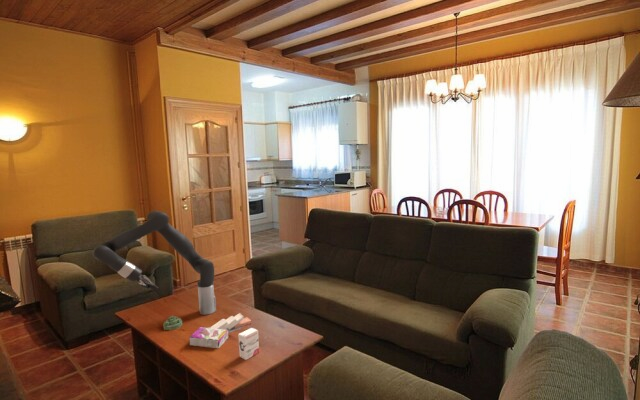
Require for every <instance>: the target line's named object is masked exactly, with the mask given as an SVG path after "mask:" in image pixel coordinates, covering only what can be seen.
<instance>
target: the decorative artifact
mask: <svg viewBox="0 0 640 400" xmlns="http://www.w3.org/2000/svg"><path fill="white" fill-rule="evenodd" d="M182 326H183V320H182V318H181V317H178V316H174V315H173V314H172V315H171V316H169V317H168V318H167V319H166V321H164V322H163V330H164V331H172V330H177V329H180V328H181V327H182Z"/></svg>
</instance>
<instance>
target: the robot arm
mask: <svg viewBox="0 0 640 400" xmlns="http://www.w3.org/2000/svg"><path fill="white" fill-rule="evenodd" d="M169 222H170V217H169V215H168V214H167V213H165V212H163V211H160V210H152V211H150V212H149V213H148V214H147V216H146V221H145V222H144V223H143V224H141V225H139V226H135V227H133V228H131V229H127V230H125V231H123V232H120V233H119V234H117V235H116V236H114V237H113V238H111V239H110V240H108V241H105V242H103V243H101V244H100V245H98V246H96V247H95V248H94V249H93V250H92V257H93V258H94V259H95V260H97V261H100V262H102V263H103V264H106V265H107V266H108V268H110V269H111V270H113V271H114V272H115V273H117V274H118V275H120V276H121V277H123V278H124V279H125V280H128V281H129V282H131V283H134V282H135V281H136V282H137V283H138V284H139V285H140V287H143V288H145V289H151V290H152V291H154V292H157V291H159V290H160V288H159V287H158V286H157V285H156V284H154V282H153V281H152V280H151V278H149V277H148V276H147V275H145V274H142V273H143V270H142V269H141V268H139V267H138V266H136V265H135V264H134V263H132V262H130V261H128V260H127V259H125V258H124V257H122V256H120V255H119V254H117V253H116V252H118V251H120V250H123V249H124V248H125V247H128V246H129V245H131V244H132V243H135V242H136V241H137V240H140V239H141V238H144V237H146V236H147V235H149V234H151V233H154V232H156V231H157V232H158V233H159V234H160V235H161V236H162V237H163V238H164V240H165V241H166V242H167V243H168V244H169V245H170V246H171V247H172V248H173V249H174V251H176V252H177V254H179V255H180V256H181V257H182V258H183V259H185V260H186V261H187V263H189V264H190V265H189V266H191V267H192V268H193V270H194V271H195V272H196V273H197V274H199V275H200V276H199V280H197V292H198V293H197V296H198V306H199V314H200V315H203V316H204V315H206V316H207V315H211V314H213V313H215V312H217V304H216V303H217V302H216V300H217V299H216V296H215V289H214V287H215V285H214V281H215V265H214V263H213V262H212V261H211V260H209V259H205V258H203V257H202V256H201V255H200V254H199V253H198V252H197V251H196V250H195V247H194V245H193V243H192V241H191V240H190V239H189V238H188V237H187V236H185V235H184V234H183V233H182V232H181V231H180V230H178V229H177V228H175V227H173V226H172V225H171V224H170V223H169Z"/></svg>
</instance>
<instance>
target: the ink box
mask: <svg viewBox="0 0 640 400" xmlns="http://www.w3.org/2000/svg"><path fill="white" fill-rule="evenodd" d="M237 337H238V348H239V350H238V351H239V357H240V358H242V359H243V360H245V361H246V360H249V359H250V358H252V357H254V356H255V355H257V354H259V353H260V347H259V346H260V345H259V344H260V343H259V342H260V341H259V340H260V339H259V329H256V328H254V327H250V328H248V329H247V330H245V331H242V332H239V333H238V335H237Z"/></svg>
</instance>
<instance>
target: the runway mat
mask: <svg viewBox="0 0 640 400" xmlns="http://www.w3.org/2000/svg"><path fill="white" fill-rule="evenodd" d="M242 329H243V326H241V327H238V328H234V327H233V328H231V329H230V330H229V329H228V328H227V329H226V330H228V334H229V333H231V332H235V331H239V330H242Z"/></svg>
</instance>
